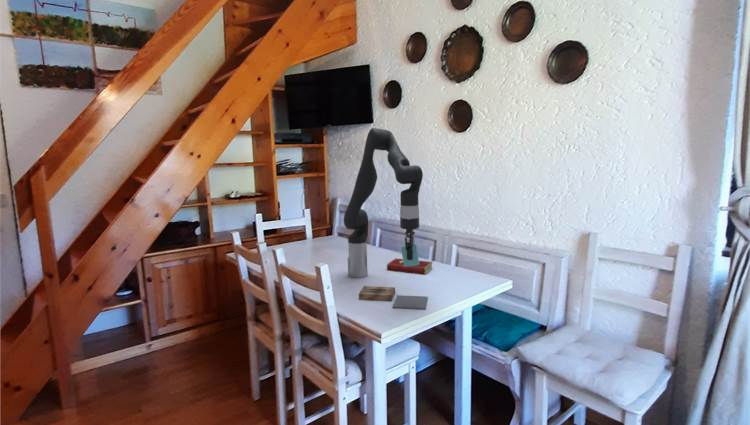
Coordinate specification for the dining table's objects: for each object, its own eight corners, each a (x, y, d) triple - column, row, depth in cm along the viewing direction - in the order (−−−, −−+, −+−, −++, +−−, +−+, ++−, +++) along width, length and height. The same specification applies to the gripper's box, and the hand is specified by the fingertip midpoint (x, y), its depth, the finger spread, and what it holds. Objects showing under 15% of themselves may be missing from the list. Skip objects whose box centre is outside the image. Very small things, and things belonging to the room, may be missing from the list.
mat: (392, 308, 164) (392, 306, 164) (397, 296, 177) (397, 295, 177) (425, 309, 162) (425, 308, 161) (427, 297, 174) (427, 296, 174)
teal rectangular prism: (404, 266, 166) (401, 247, 165) (404, 265, 168) (401, 246, 167) (418, 265, 165) (415, 245, 164) (419, 263, 167) (416, 244, 166)
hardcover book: (425, 275, 206) (425, 267, 205) (386, 271, 215) (386, 263, 214) (432, 269, 217) (432, 261, 216) (395, 265, 226) (395, 257, 225)
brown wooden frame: (358, 299, 174) (358, 292, 174) (364, 291, 184) (363, 284, 184) (391, 301, 172) (391, 293, 171) (395, 292, 181) (395, 286, 181)
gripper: (402, 213, 171) (403, 254, 174) (397, 219, 158) (398, 263, 160) (420, 213, 170) (420, 254, 172) (417, 219, 156) (417, 263, 159)
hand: (410, 258), depth 166 cm, fingers closed on teal rectangular prism, 2 cm apart
